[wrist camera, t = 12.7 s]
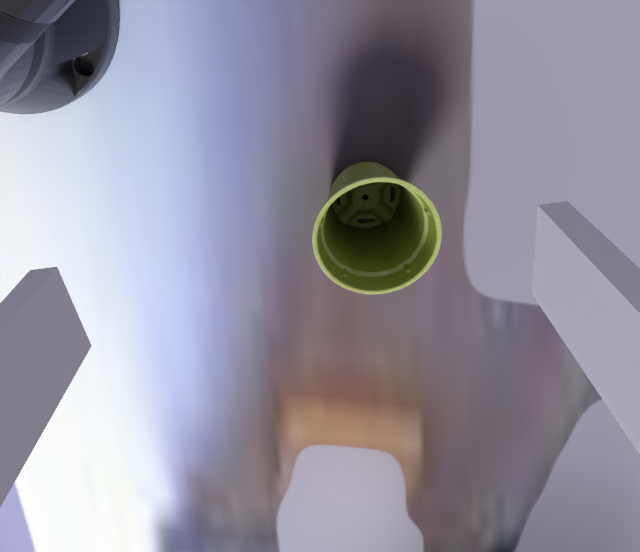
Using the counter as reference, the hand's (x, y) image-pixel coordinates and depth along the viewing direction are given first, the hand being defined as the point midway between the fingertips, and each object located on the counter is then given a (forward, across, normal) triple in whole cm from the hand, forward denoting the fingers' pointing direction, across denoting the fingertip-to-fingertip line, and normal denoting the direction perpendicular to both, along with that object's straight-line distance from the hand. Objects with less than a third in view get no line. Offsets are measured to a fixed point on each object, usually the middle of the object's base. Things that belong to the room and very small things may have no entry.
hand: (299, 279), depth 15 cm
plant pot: (+31, +4, -10) cm, 33 cm away
